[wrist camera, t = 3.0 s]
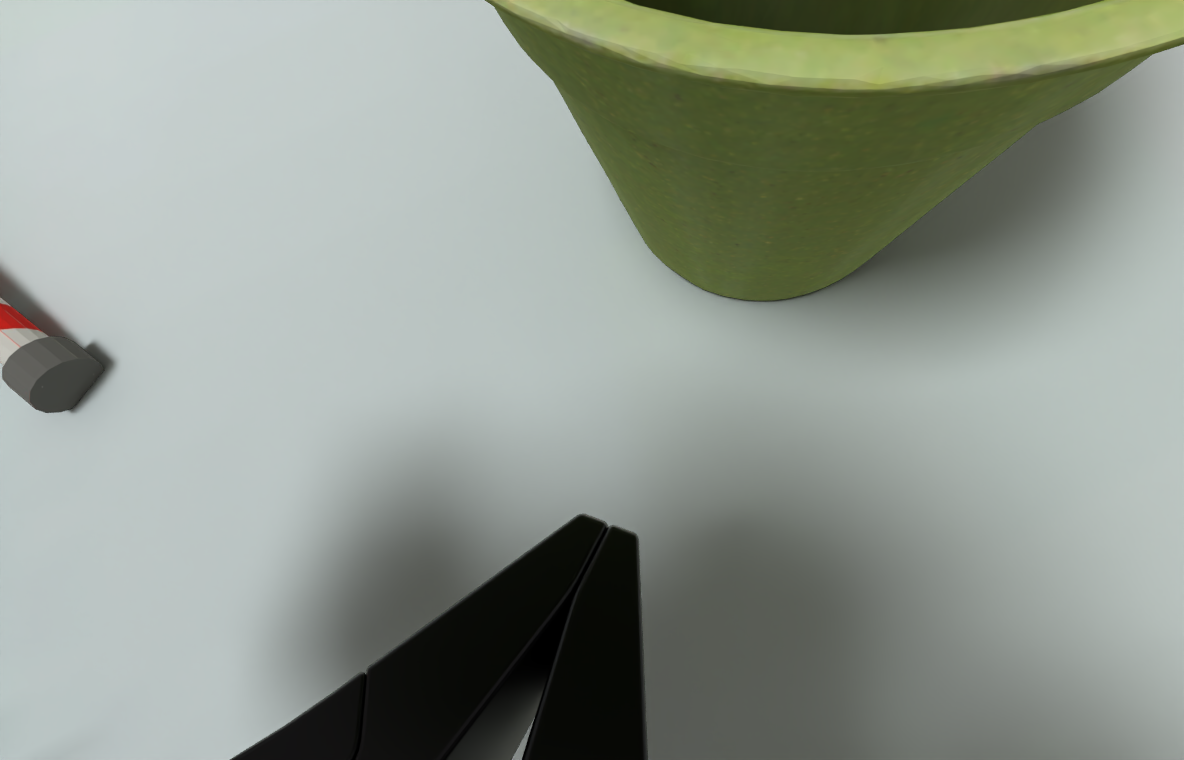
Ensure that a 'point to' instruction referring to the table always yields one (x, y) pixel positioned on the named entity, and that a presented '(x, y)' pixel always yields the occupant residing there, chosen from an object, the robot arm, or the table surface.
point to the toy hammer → (43, 364)
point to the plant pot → (815, 113)
